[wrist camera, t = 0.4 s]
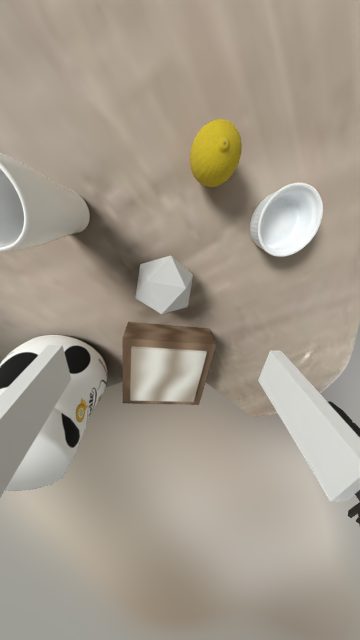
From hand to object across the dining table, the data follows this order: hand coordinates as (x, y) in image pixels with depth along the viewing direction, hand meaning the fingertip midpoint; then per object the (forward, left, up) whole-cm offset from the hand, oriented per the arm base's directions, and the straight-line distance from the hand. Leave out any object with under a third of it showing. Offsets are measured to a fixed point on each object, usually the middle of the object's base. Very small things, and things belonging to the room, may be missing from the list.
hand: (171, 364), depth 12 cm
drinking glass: (-14, +8, -22) cm, 27 cm away
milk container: (-18, -20, -22) cm, 35 cm away
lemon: (+4, +16, -22) cm, 27 cm away
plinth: (+2, -17, -22) cm, 28 cm away
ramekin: (+16, +11, -22) cm, 29 cm away
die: (0, 0, -22) cm, 22 cm away
